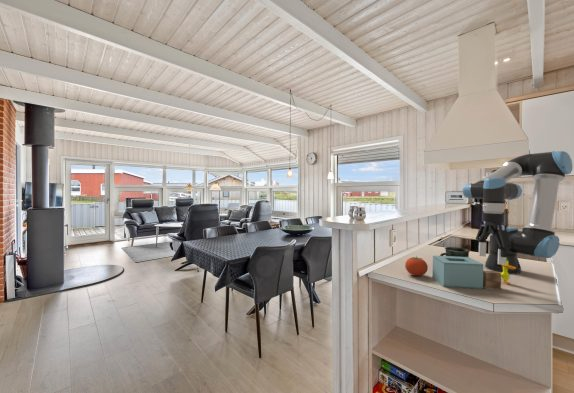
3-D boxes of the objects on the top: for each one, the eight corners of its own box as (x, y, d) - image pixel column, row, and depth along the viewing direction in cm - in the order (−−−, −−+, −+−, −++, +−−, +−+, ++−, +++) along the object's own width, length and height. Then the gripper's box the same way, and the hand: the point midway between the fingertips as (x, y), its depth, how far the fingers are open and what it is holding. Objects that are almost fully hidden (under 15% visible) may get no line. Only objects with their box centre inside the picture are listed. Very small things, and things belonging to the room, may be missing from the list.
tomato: (404, 271, 136) (404, 252, 136) (425, 273, 133) (425, 254, 132) (406, 277, 126) (406, 257, 126) (429, 280, 123) (429, 259, 123)
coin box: (467, 279, 124) (468, 257, 124) (482, 289, 112) (483, 264, 112) (432, 277, 126) (432, 255, 126) (443, 286, 115) (444, 262, 114)
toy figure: (517, 285, 116) (518, 259, 116) (512, 286, 115) (513, 260, 115) (501, 280, 123) (502, 256, 122) (496, 281, 121) (496, 256, 121)
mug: (474, 275, 131) (475, 251, 130) (446, 275, 130) (447, 251, 130) (459, 268, 142) (460, 246, 141) (433, 268, 141) (434, 246, 141)
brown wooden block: (496, 286, 115) (496, 271, 115) (500, 289, 112) (501, 273, 112) (481, 285, 116) (482, 270, 116) (485, 288, 113) (486, 272, 113)
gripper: (468, 210, 126) (466, 252, 127) (503, 214, 102) (500, 267, 102) (485, 210, 125) (483, 253, 126) (524, 215, 100) (522, 269, 101)
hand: (491, 260), depth 114 cm, fingers open, 13 cm apart
